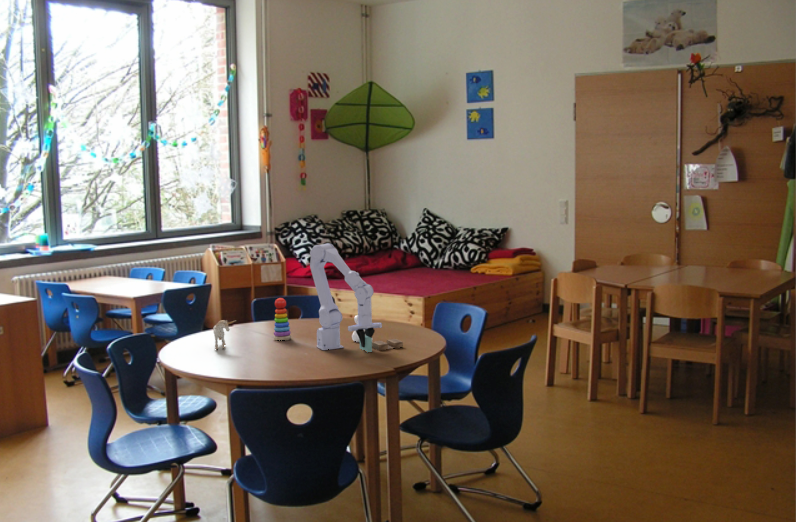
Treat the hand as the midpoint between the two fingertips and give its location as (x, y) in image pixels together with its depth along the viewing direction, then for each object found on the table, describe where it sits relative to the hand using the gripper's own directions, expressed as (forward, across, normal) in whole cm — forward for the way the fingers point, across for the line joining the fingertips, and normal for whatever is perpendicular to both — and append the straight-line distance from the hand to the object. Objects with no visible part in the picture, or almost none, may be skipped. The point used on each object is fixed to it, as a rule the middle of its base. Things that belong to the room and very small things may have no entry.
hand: (365, 346), depth 313 cm
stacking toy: (+2, -23, +40) cm, 46 cm away
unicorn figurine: (+2, -49, +36) cm, 61 cm away
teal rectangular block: (+2, 0, 0) cm, 2 cm away
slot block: (+2, +10, 0) cm, 10 cm away
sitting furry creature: (+2, +6, +18) cm, 19 cm away
